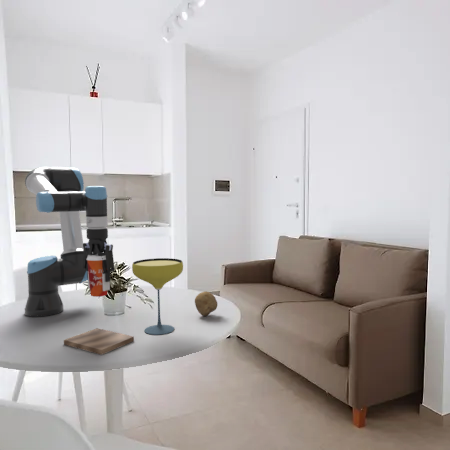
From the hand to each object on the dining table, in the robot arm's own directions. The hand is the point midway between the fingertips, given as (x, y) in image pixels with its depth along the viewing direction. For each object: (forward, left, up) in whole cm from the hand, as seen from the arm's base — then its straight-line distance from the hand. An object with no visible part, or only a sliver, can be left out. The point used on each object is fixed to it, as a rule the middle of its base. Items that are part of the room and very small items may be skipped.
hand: (98, 288), depth 154 cm
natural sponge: (+27, +31, -14) cm, 44 cm away
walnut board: (+13, -12, -14) cm, 23 cm away
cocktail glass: (+22, +8, -14) cm, 28 cm away
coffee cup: (0, 0, -2) cm, 2 cm away
